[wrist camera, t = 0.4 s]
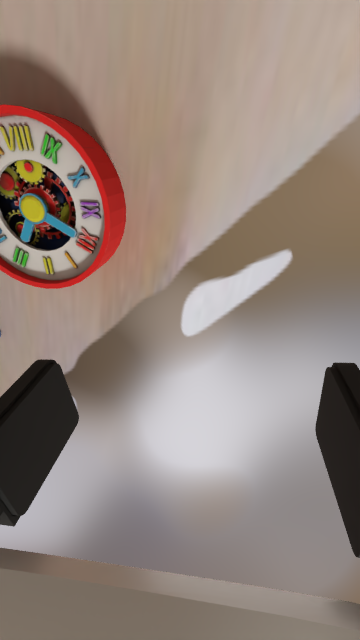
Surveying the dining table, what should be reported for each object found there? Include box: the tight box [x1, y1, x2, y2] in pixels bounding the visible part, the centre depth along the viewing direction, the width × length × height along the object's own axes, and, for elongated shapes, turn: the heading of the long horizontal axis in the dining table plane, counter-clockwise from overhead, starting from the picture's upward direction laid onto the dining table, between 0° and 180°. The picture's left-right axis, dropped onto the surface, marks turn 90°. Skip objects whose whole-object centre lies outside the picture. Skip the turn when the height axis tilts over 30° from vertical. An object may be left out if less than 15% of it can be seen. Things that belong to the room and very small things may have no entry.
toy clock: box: [0, 105, 126, 289], centre depth 36 cm, size 20×6×20 cm
